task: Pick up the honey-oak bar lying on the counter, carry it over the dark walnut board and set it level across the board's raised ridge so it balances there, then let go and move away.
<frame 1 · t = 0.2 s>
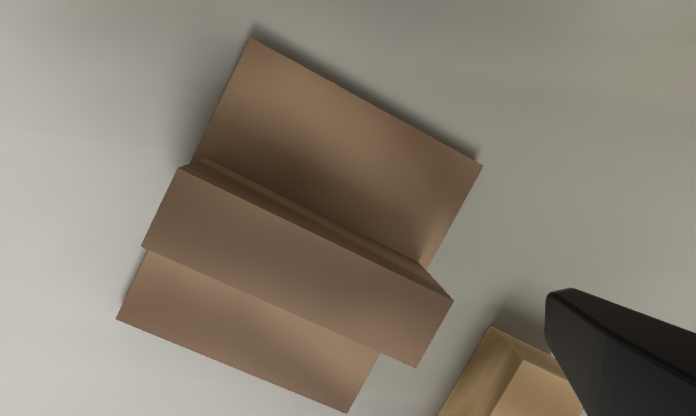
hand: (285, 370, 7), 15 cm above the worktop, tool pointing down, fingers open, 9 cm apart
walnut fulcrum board: (302, 236, 23), on the worktop
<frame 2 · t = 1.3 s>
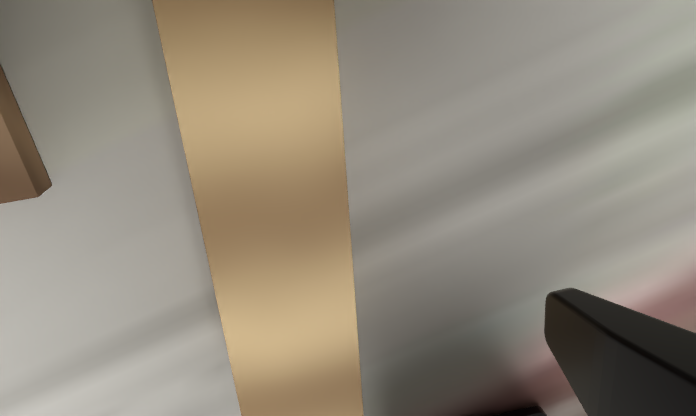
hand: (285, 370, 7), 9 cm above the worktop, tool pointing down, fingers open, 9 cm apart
oak bar: (274, 171, 16), on the worktop
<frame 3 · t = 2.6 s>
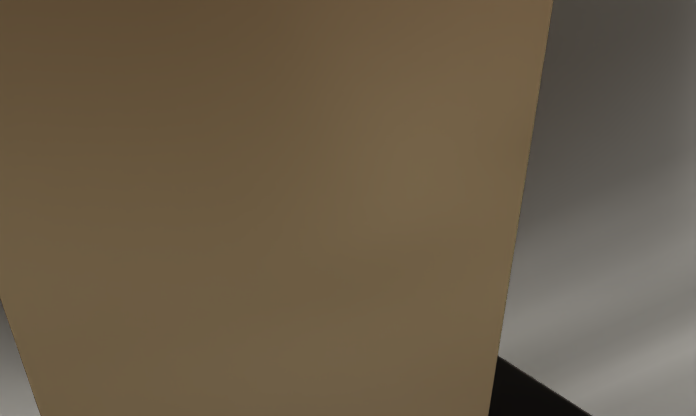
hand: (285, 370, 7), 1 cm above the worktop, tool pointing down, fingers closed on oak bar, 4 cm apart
oak bar: (284, 322, 9), on the worktop, touching gripper
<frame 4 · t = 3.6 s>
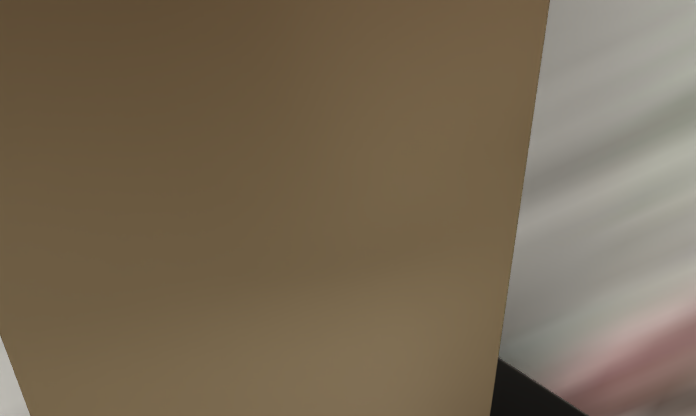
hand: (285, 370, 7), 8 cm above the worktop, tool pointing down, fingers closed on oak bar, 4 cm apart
oak bar: (284, 322, 9), point 7 cm above the worktop, touching gripper
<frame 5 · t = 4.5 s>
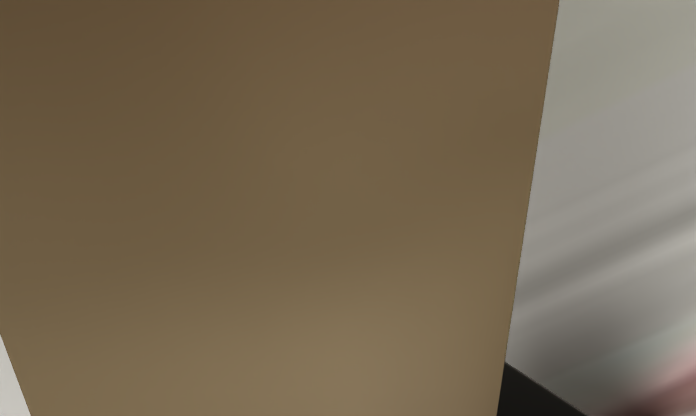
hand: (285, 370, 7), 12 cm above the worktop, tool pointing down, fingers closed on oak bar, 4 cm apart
oak bar: (286, 323, 9), point 10 cm above the worktop, touching gripper
when the fingers open (8 cm above the worktop, at t = 5.9 s): oak bar stays where it is, resting on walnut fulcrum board.
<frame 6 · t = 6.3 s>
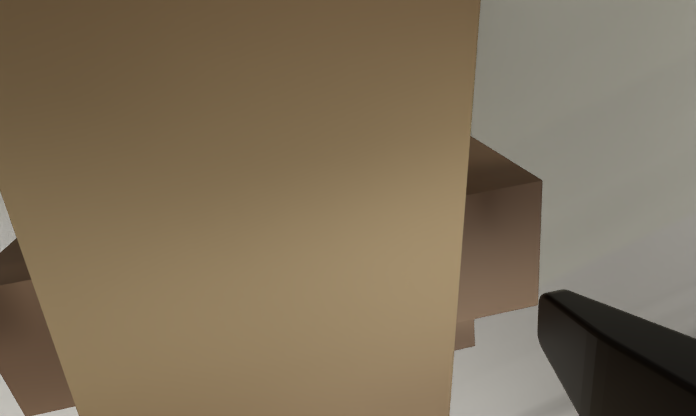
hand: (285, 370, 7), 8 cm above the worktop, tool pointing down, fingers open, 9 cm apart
oak bar: (279, 297, 9), point 6 cm above the worktop, touching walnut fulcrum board
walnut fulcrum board: (276, 193, 15), on the worktop
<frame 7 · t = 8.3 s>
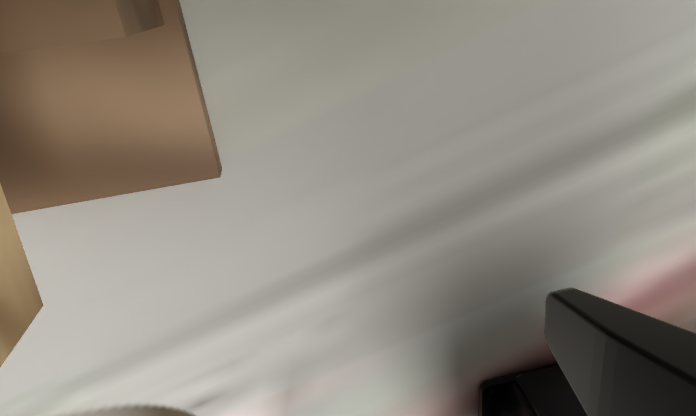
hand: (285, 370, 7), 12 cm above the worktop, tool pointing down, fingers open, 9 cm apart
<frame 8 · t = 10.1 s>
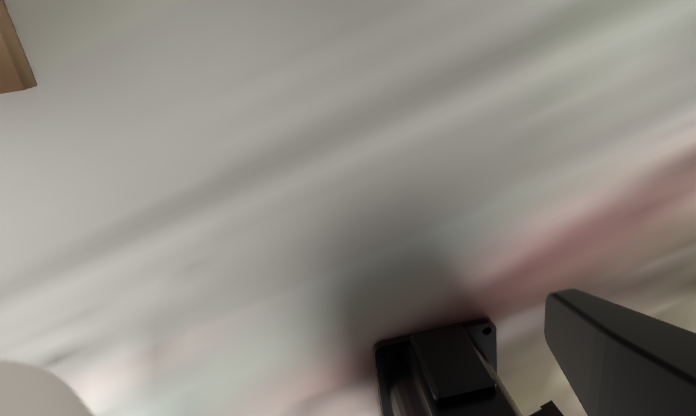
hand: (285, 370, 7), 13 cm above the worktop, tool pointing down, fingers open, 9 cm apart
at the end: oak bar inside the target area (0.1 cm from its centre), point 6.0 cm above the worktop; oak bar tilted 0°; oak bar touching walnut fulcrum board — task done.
